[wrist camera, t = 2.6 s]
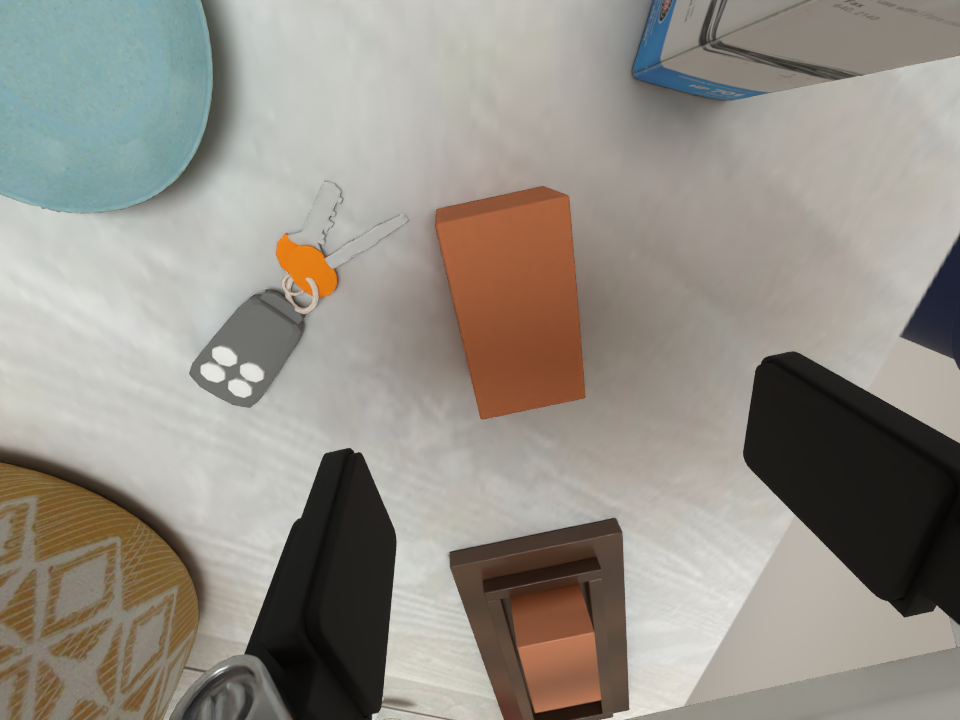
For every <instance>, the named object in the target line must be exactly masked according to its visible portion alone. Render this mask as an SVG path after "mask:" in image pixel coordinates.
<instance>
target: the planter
mask: <svg viewBox="0 0 960 720" xmlns="http://www.w3.org/2000/svg"><path fill="white" fill-rule="evenodd" d="M198 622H199V608H198V599H197V595H196V591H195V588H194V585H193V582H192V579H191V577H190V575H189V573H188V571H187V569H186V567H185V566H184V564H183V563H182V561H181V560H180V558H179V557H178V556H177V555H176V553H175V552H174V551H173V550H172V548H171V547H170V546H169V545H168V544H167V543H166V542H165V541H164V540H163V539H162V538H161V537H160V536H159V535H158V534H157V533H156V532H155V531H153V530H152V529H151V528H150V527H149V526H148V525H146V524H145V523H144V522H142V521H141V520H140V519H138V518H137V517H135V516H134V515H132V514H131V513H129V512H128V511H126V510H125V509H123V508H121V507H120V506H118V505H116V504H115V503H113V502H111V501H109V500H107V499H105V498H103V497H101V496H100V495H98V494H96V493H93V492H91V491H89V490H87V489H85V488H82V487H80V486H77V485H75V484H72V483H70V482H68V481H65V480H62V479H59V478H56V477H53V476H51V475H48V474H44V473H41V472H38V471H34V470H31V469H27V468H23V467H19V466H15V465H10V464H6V463H1V462H0V720H163V718H164V716H165V713H166V711H167V708H168V706H169V704H170V701H171V699H172V696H173V694H174V691H175V689H176V686H177V684H178V682H179V679H180V677H181V674H182V672H183V669H184V667H185V664H186V662H187V660H188V657H189V655H190V652H191V649H192V647H193V644H194V641H195V638H196V633H197V629H198Z"/></svg>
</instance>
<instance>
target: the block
mask: <svg viewBox="0 0 960 720" xmlns="http://www.w3.org/2000/svg"><path fill="white" fill-rule="evenodd" d="M435 227H436V231H437V235H438V240H439V244H440V248H441V252H442V257H443V261H444V265H445V269H446V274H447V278H448V282H449V286H450V291H451V295H452V299H453V303H454V308H455V312H456V316H457V320H458V325H459V329H460V333H461V338H462V342H463V346H464V350H465V355H466V359H467V363H468V367H469V372H470V376H471V380H472V384H473V389H474V393H475V397H476V401H477V406H478V410H479V414H480V418H481V419H487V418H492V417H497V416H502V415H507V414H511V413H516V412H521V411H526V410H531V409H535V408H540V407H545V406H550V405H554V404H559V403H564V402H569V401H574V400H578V399H583V398H585V384H584V372H583V359H582V347H581V335H580V323H579V311H578V299H577V287H576V274H575V262H574V250H573V238H572V226H571V214H570V202H569V196H568V195H566V194H563V193H560V192H558V191H555V190H552V189H550V188H547V187H544V186H542V187H538V188H533V189H528V190H524V191H519V192H514V193H510V194H505V195H500V196H496V197H491V198H487V199H482V200H477V201H473V202H468V203H463V204H459V205H454V206H449V207H445V208H440V209H437V210H436V223H435Z"/></svg>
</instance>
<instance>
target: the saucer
mask: <svg viewBox="0 0 960 720" xmlns="http://www.w3.org/2000/svg"><path fill="white" fill-rule="evenodd" d="M212 63H213V61H212V54H211V43H210V38H209V30H208V26H207V21H206V17H205V13H204V9H203V6H202V2H201V0H0V194H1V195H3V196H6V197H9V198H11V199H14V200H17V201H20V202H23V203H26V204H29V205H34V206H39V207H41V208H42V209H49V210H53V211H57V212H60V211H62V212H68V213H101V212H109V211H114V210H121V209H124V208H127V207H131V206H133V205H137V204H140V203H142V202H144V201H147V200H149V199H150V198H152V197H154V196H155V195H157V194H158V193H160V192H162V191H163V190H164V189H165V188H167V187H168V186H169V185H171V184H172V183H173V182H175V181H176V180H177V179H178V177H179V176H180V175H181V173H182V172H183V171H184V170H185V169H186V167H187V165H188V164H189V162H190V161H191V160H192V158H193V156H194V155H195V153H196V151H197V149H198V146H199V145H200V142H201V140H202V137H203V134H204V131H205V128H206V125H207V121H208V117H209V112H210V106H211V101H212V98H211V97H212V89H213V67H212Z"/></svg>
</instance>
